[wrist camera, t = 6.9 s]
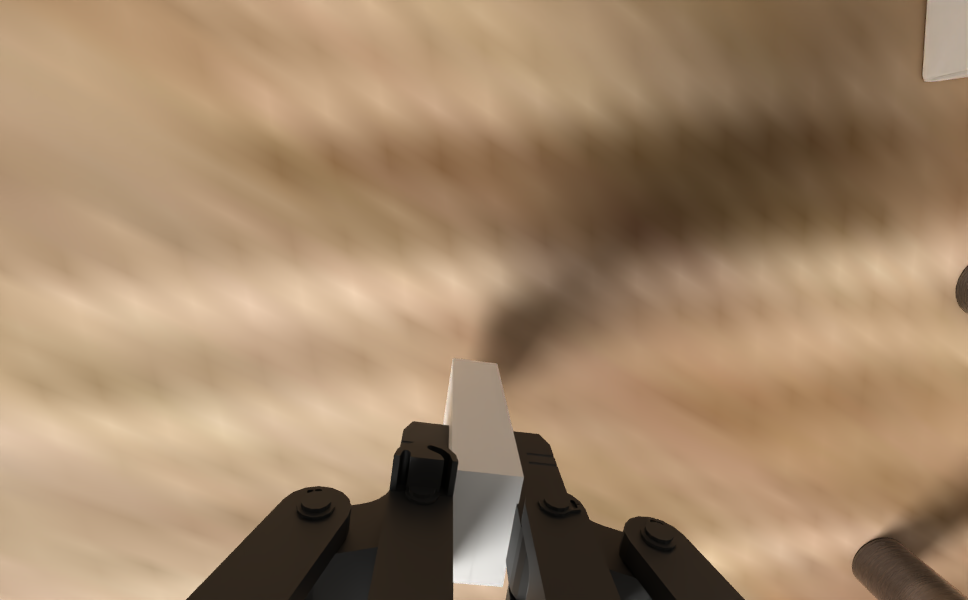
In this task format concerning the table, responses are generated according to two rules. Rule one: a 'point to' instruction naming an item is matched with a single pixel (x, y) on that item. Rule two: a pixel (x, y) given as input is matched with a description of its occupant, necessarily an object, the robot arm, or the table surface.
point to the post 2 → (963, 291)
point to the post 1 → (899, 574)
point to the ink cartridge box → (946, 40)
